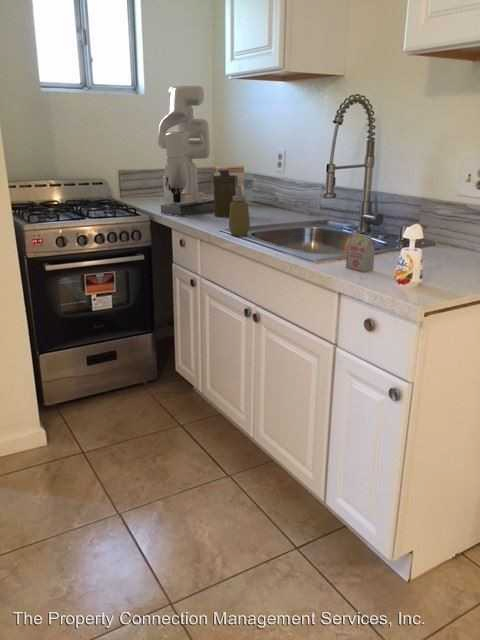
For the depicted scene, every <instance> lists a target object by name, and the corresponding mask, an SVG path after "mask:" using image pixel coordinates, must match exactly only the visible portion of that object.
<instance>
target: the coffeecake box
mask: <svg viewBox="0 0 480 640" xmlns="http://www.w3.org/2000/svg"><path fill="white" fill-rule="evenodd" d="M220 170H228V171H229V175H237V180H238V186H241V190H242V195H243V196H245V167H244V165H221V166H220V165H218V166H217V165H216V166H215V165H214V168H213V171H214V172H213V173H214V175H213V176H220V172H218V171H220ZM236 191H237V185H236Z"/></svg>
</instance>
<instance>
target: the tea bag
mask: <svg viewBox="0 0 480 640" xmlns="http://www.w3.org/2000/svg"><path fill="white" fill-rule="evenodd" d="M372 238H373V237H372V235H368V234H362V233H357V232H351V235H350V239H349V242H348V245H347V246H346V261H345V262H346V264H345V268H346V269H348V270H353V271H355V272H356V271H357V272H360V273H363V274H365V273H369V272H373V271H374V263H375V262H374V261H375V248H374V243H373V239H372Z"/></svg>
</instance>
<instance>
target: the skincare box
mask: <svg viewBox="0 0 480 640" xmlns="http://www.w3.org/2000/svg"><path fill="white" fill-rule="evenodd" d="M162 184H163V185H162V186H163V202H164V203H163V205H165V204H170V203H175V202H174V201H173V194H172V192H171V191H170V190H167V187H166V186H165V183H164V175H162ZM182 192H183V190H182Z"/></svg>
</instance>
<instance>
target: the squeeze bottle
mask: <svg viewBox="0 0 480 640" xmlns="http://www.w3.org/2000/svg"><path fill="white" fill-rule="evenodd" d="M249 212H250V211H249V203H248V202H247V201H246V195H244V196H243V195H242V190H241V186H237V191H236V196H233V202H231V203H230V215H229V217H228V228H229V231H230V234H231V236H233V237H245V236H247V235H248V233H249V229H250V226H251V222H250V213H249Z"/></svg>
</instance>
